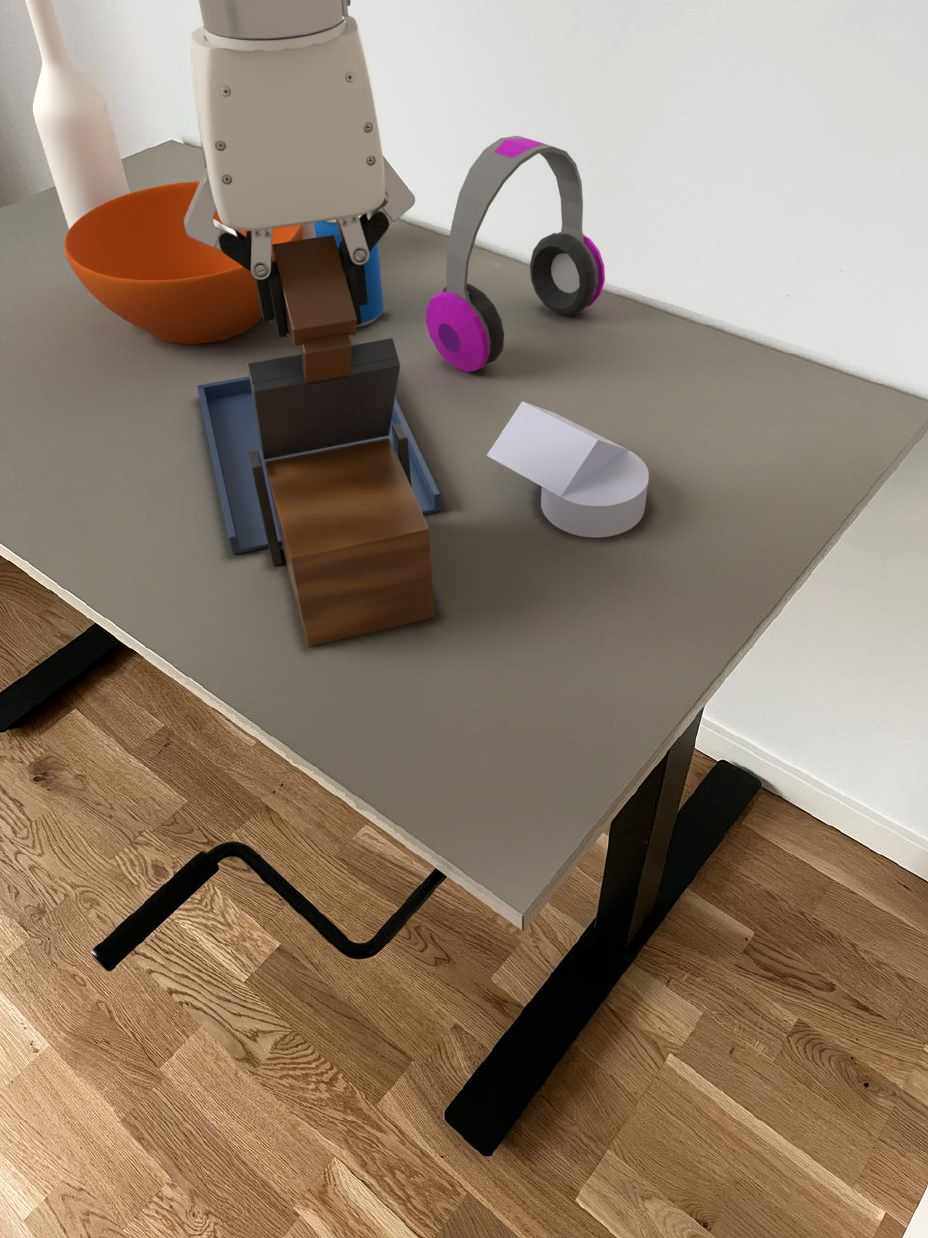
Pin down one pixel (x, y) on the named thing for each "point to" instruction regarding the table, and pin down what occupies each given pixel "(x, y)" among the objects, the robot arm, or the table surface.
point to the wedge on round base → (574, 472)
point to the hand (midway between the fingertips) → (316, 318)
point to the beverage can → (371, 274)
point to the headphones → (558, 263)
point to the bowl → (164, 267)
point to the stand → (349, 536)
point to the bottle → (73, 124)
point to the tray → (238, 435)
